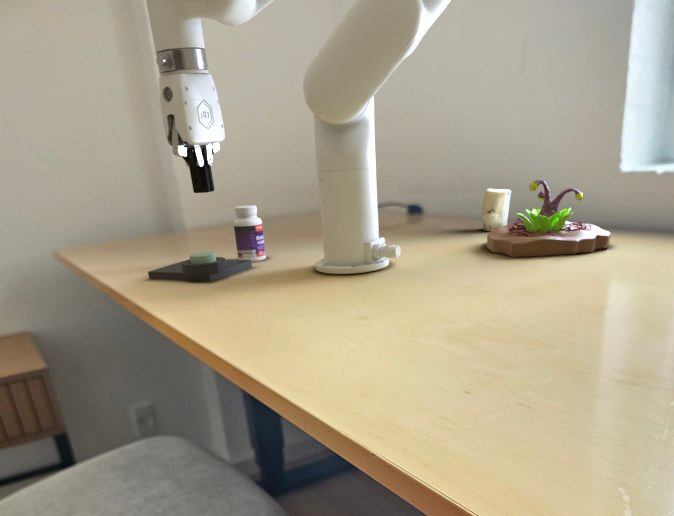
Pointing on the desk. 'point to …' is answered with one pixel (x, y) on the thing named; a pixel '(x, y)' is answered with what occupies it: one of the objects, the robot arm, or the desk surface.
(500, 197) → the white speckled cylinder
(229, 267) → the scale
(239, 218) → the pill bottle
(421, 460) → the desk surface
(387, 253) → the robot arm
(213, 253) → the tare button
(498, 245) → the plant
